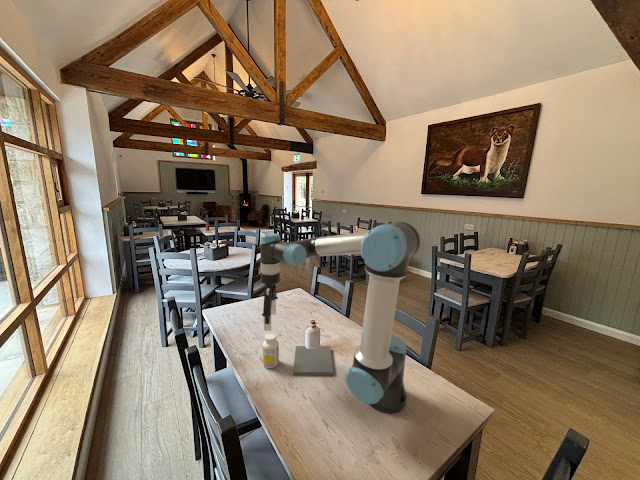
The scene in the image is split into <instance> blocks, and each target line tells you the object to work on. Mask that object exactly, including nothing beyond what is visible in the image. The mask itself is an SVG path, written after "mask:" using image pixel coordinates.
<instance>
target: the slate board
mask: <svg viewBox="0 0 640 480" xmlns="http://www.w3.org/2000/svg"><path fill="white" fill-rule="evenodd" d="M305 346H306V345H296V346H295V351H294V359H293V360H294V362H293V371H292V372H293V373H292V375H293V376H334V369H333V368H334V367H333V361H332V353H331V351H332V350H331V346H329V345H328V346H326V345H325V346H323V345H320V346H319V345H318V346H319V347H318V348H316V349H307V348H306V347H305Z"/></svg>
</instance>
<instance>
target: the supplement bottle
mask: <svg viewBox="0 0 640 480" xmlns="http://www.w3.org/2000/svg"><path fill="white" fill-rule="evenodd" d="M279 349H280V348H279V341H278V340H277V335H276V334H275V333H266V335H264V341H263V342H262V365H263V367H264V368H267V369H273V368H275V367H276V368H277V367H278V365H279V363H280V362H279V361H280V359H279V355H280V353H279V352H280V350H279Z"/></svg>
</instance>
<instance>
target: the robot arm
mask: <svg viewBox="0 0 640 480" xmlns="http://www.w3.org/2000/svg"><path fill="white" fill-rule="evenodd" d="M421 239H422V238H421V235H420V233H419V230H417V228H416V227H415V226H414V225H412V224H411V223H408V222H404V221H396V222H393V223H387V224H386V223H383V224H379V225H378V226H375V227H373V228H372V229H370V230H369V231H361V232H353V233H345V234H338V235H337V234H336V235H328V236H320V237H317V236H316V237H315V236H314V237H310V238H305V239H301V240H295V241H290V242H287V241H282V240H281V236H280V234H278V233H274V232H271V233H263V234H261V236H260V243H259V245H260V282H261V284H263V285H265V286H264V291H263V292H264V298H263V309H262V310H263V312H262V313H261V316H262V317H263V331H264V332H271V331H272V315H276V314H277V300H278V297H279V296H278V294H277V284H278V283H280V281H281V273H280V271H281V270H280V269H281V267H282V264H281V262H283V263H286V264H288V265H293V266H294V265H295V266H300V265H302V264H303V262H305V260H306V259H310V258H314V257H315V258H317V257H327V256H331V257H332V256H344V255H346V256H347V255H348V256H349V255H360V256H361V258H362V259H363V260H364V264H365V265H364V270H365V272H366V273H367V274H368V275H369V276H368V284H367V291H366V301H365V305H364V306H365V308H364V314H363V320H362V321H363V324H362V328H361V329H362V331H361V339H360V345H358V346H356V347H355V350H354V354H353V361H352V366H351V367H350V368H348V369H347V372H346V373H345V383H346V385H347V386H346V387H347V388H348V390H349V391H350V393H351V395H353V396H354V397H355V399H357V400H358V401H359V402H362V403H364V404H367V405H369V406H370V407H371V408H373V409H375V410H377V411H379V412H383V413H384V414H385V413H387V414H394V413H398V412H401V411H403V410H404V408H405V407H406V405H407V398H408V397H407V396H408V395H407V391H406V386H405V384H404V375H405V374H404V373H405V363H406V355H407V344H406V341H404V340H403V339H402V338H400V337H399V336H397V335H394V334H393V328H394V327H393V326H394V320H395V315H396V309H397V308H396V307H397V302H398V296H399V295H398V294H399V289H400V283H401V280H403V279H405V278H406V277H407V274H408V269H409V263H410V259H411V258H413V257H414V256H415V255H416V254H417V253H418V251H419V249H420V246H421V242H422V241H421Z"/></svg>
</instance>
